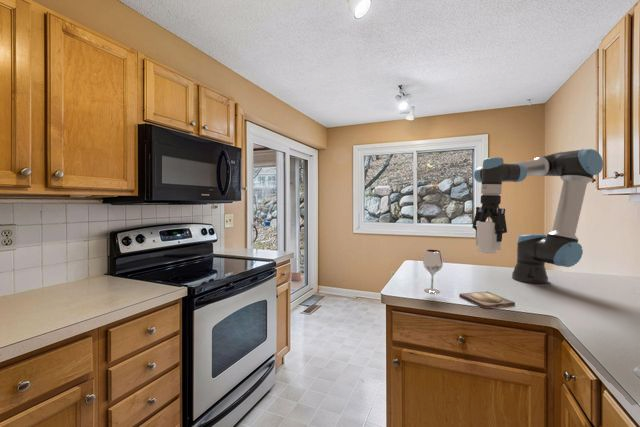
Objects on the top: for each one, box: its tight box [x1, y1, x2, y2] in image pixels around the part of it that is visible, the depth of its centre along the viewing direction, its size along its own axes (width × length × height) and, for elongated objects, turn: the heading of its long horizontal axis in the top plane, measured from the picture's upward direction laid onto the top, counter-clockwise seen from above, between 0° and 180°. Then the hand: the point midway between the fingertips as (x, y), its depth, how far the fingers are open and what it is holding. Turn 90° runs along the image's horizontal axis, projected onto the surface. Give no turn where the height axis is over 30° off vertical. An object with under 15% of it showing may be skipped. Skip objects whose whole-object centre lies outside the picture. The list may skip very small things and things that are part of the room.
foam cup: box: [476, 220, 497, 255], centre depth 134 cm, size 10×9×13 cm
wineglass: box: [422, 249, 444, 294], centre depth 138 cm, size 8×8×18 cm
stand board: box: [459, 290, 516, 309], centre depth 127 cm, size 14×14×2 cm
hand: (487, 247), depth 134 cm, fingers closed on foam cup, 9 cm apart
